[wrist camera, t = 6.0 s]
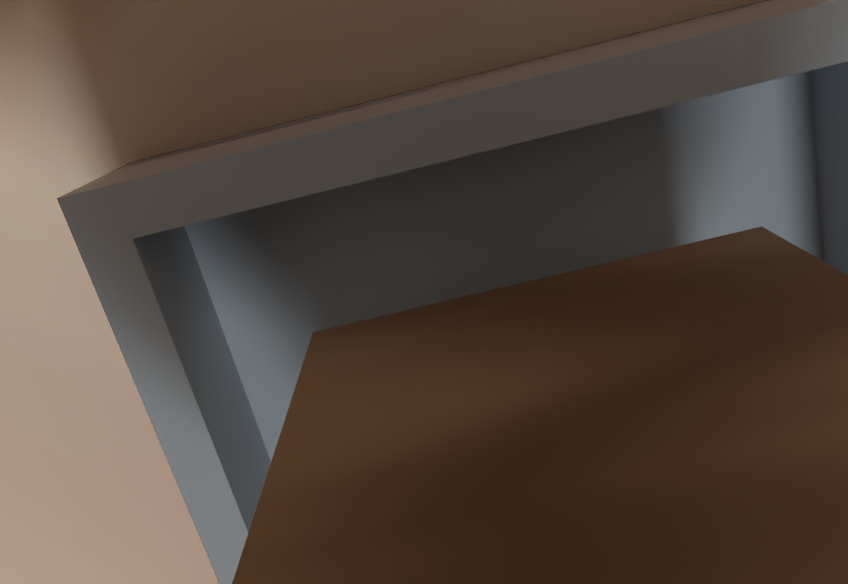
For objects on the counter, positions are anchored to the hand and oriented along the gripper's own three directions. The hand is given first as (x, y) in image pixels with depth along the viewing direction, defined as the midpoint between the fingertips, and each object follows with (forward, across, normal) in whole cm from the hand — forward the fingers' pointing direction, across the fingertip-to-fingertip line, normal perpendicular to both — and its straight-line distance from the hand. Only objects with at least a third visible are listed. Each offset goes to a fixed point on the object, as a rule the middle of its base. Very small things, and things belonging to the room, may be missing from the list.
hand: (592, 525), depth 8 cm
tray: (+3, 0, 0) cm, 3 cm away
